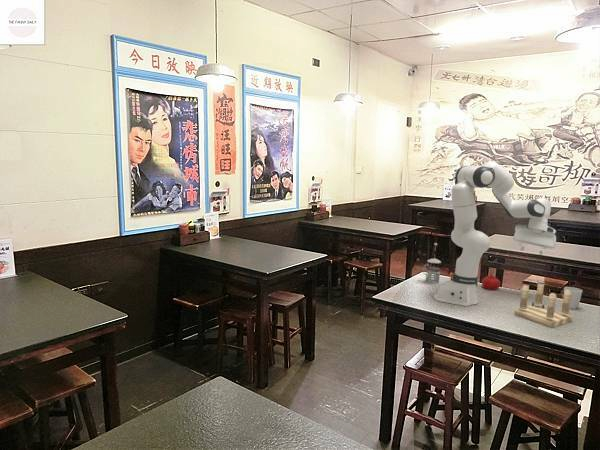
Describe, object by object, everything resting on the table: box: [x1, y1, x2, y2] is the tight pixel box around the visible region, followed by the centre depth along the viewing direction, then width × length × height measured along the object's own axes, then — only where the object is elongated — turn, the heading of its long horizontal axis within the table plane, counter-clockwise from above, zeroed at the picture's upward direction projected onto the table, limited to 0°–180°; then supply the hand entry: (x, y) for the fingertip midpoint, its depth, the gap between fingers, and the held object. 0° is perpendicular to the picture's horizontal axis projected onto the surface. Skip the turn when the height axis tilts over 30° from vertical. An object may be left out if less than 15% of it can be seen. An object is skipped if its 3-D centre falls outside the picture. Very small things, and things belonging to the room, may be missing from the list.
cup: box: [563, 286, 583, 310], centre depth 220 cm, size 8×8×10 cm
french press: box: [422, 242, 442, 287], centre depth 254 cm, size 10×12×25 cm
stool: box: [513, 284, 574, 329], centre depth 203 cm, size 18×18×16 cm
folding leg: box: [534, 280, 546, 305], centre depth 211 cm, size 3×3×12 cm
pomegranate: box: [481, 272, 501, 291], centre depth 249 cm, size 10×10×9 cm
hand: (531, 252), depth 226 cm, fingers open, 8 cm apart
